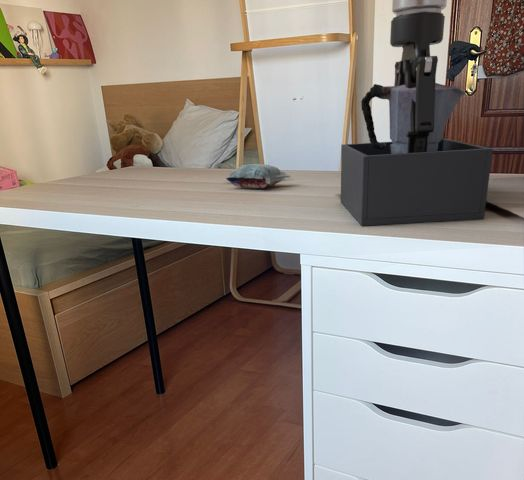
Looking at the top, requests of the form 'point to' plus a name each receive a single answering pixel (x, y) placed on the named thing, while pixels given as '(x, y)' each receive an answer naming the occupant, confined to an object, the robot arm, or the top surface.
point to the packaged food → (256, 176)
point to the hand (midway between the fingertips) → (407, 177)
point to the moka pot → (401, 114)
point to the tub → (415, 183)
